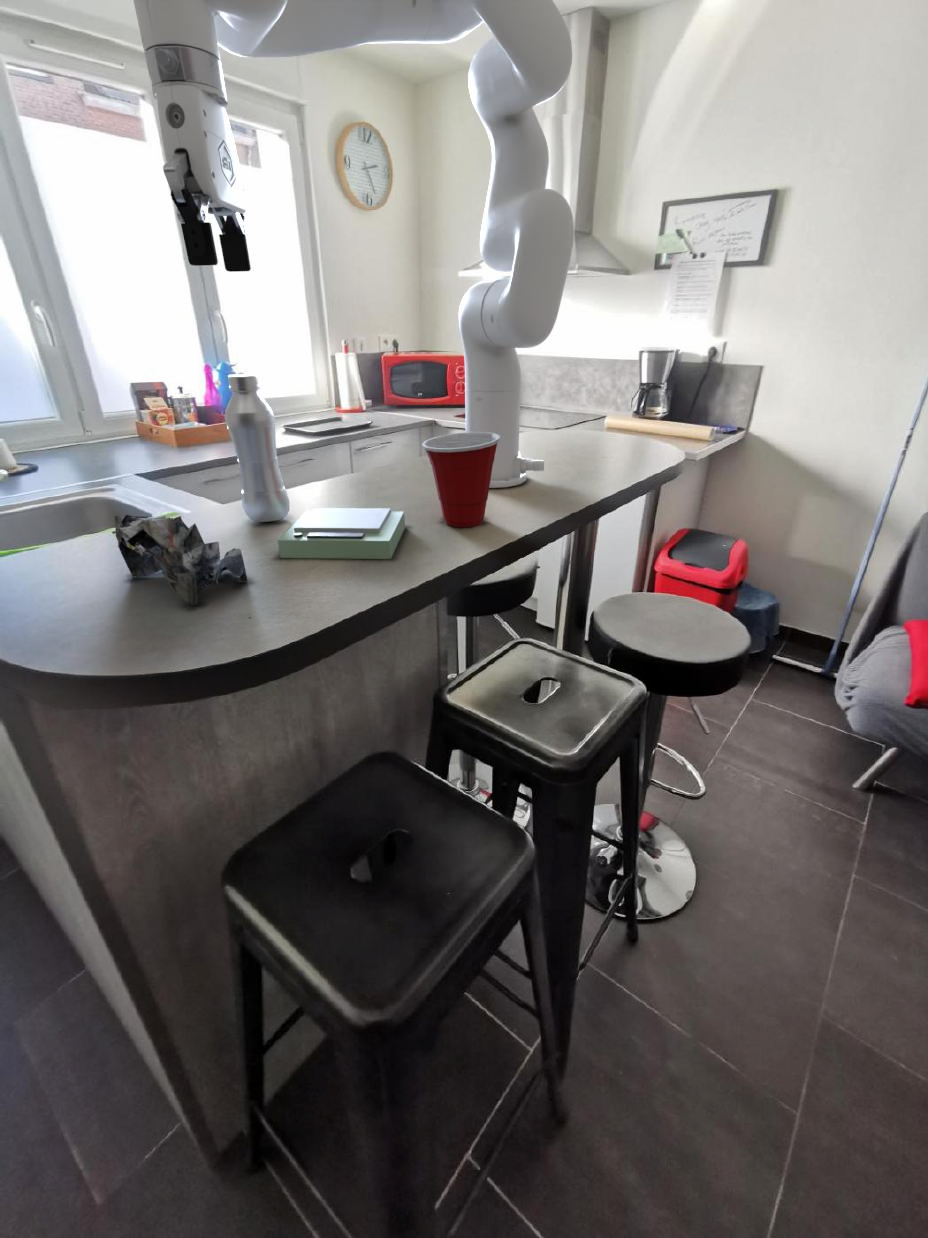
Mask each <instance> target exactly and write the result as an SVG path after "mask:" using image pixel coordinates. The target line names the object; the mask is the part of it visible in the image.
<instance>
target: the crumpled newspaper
mask: <svg viewBox="0 0 928 1238" xmlns="http://www.w3.org/2000/svg"><path fill="white" fill-rule="evenodd" d="M182 517H183V515H179V516H176V517H166V515H160V516H134V515H130V514H129V515H128V514H125V515H124V517H123V519H121V517H120V516H119V515H115V516H114V522H115V523H114V525H115V530H114V531H111V533H112V535H115V538H116V540H117V543H118V544H117V547H118V550H119V552H120V554H121V556H122V558H123V560H124V563H125V564H126V567H127V569H128V570H129V572H130V574H131V576H132V578H134V577H136V578H144V577H145V578H146V577H148V576H150V575H153V574H156V573H159V572H161V573H162V575H163V577H164V580H165V581H166V582H167V583H168V585H169V586H170V587H171V589H173V591H174V592H175V593H176V594H177V595H178V596H179V597H180V598H181V599H182V601H184V602H185V604H187V605H189V606H191V607H195V606H197V605H198V604H199V594H200V591H201V590H203V589H205V588H206V586H209V585H211V584H212V583H213V582H214V581H215V582H216V584H217V585H219V582H218V580H220V578H221V577H222V575H223V572H225V571H227V570H228V571H229V572H231V573H232V574H233V575H234V576H236V577H239V579H238V583H241V582H246V583H248V576H247V571H246V566H245V562H244V557H243V554H242V550H241V548H236V547H234V548H233V547H232V548H231V549H229V550H228V551H226V552H225V554H224V556H223V557H222V558H221V551H220V544H219V543H220V542H219V541H214V542H207V543H205V542H204V539H203V537H202V534H201V533H200V531H199V528H198V526H197V524H196V523H193V524H192V525H190V527H189V526H187V524H186V523H185V522H184V521H183V518H182ZM185 519H187V520H189V521H190V519H188V518H187V517H185Z"/></svg>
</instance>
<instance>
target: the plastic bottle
mask: <svg viewBox="0 0 928 1238" xmlns="http://www.w3.org/2000/svg"><path fill="white" fill-rule="evenodd" d="M227 378H228V385H229V386H228V388H229V391H231V392H232V395H231V397H230V399H229V401H228V403H227V406H226V408H225V410H224V421H225V425H226V427H227V430H228V431H227V432H228V434H229V437H230V439H231V442H232V445H233V448H234V453H235V456H236V459H237V463H238V467H239V475H240V485H241V489H242V490H241V504H242V509H243V510H244V513H245V515H246V517H248V518H249V520H251V521H252V522H260V523H264V522H265V523H267V522H269V523H270V522H275V521H279V520H283V519H284V518H286V517H288V514H289V513H290V498H289V495H288V492H287V489H286V486H284V481H283V477H282V473H281V470H280V465H279V458H278V451H277V443H276V442H277V441H276V424H275V423H276V419H275V413H274V411H273V410H272V407H271V406H270V405H269V404H268V402H267V401H266V400H265V399H264V398H263V397H262V395H261V394H260V393H259V390H260V389H261V387H260V384H259V379H258V374H256V373H237V374H236V373H235V374H229V375H227Z"/></svg>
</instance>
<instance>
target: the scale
mask: <svg viewBox="0 0 928 1238" xmlns="http://www.w3.org/2000/svg"><path fill="white" fill-rule="evenodd" d="M405 517H406V516H405V511H403V510H402V511H400V510H399V511H397V510H396V511H393V510H392V509H391V508H389V507H313V508H312V509H311V510H306V511H305V512H304V513H303V514H302V515H301V516H300V517H299V518H298V519H297V520H296V521H295V522H294V523H293V524H292V525H291V526H290V527H289V528H288V529H287V530H286V531H285V532H284V533H283V534H282V535H281V536H280V537H279V538H278V539H277V544H278V551H279V557H280V559H341V560H342V559H344V560H345V559H346V560H347V559H349V560H350V559H351V560H352V559H353V560H391V559H392V558H393V555H394V553H395V550H396V549H397V546H398V545H399V542H400V540H401V537H402V536H403V533H404V531H405V529H406V520H405Z"/></svg>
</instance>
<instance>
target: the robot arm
mask: <svg viewBox="0 0 928 1238" xmlns="http://www.w3.org/2000/svg"><path fill="white" fill-rule="evenodd" d="M133 4H134V5H133V6H134V10H135V15H136V18H137V24H138V29H139V34H140V39H141V43H142V49H143V53H144V57H145V58H144V59H145V64H146V67H147V73H148V77H149V83H150V87H151V93H152V96H153V98H154V100H155V101H156V104H157V111H158V120H159V126H160V127H159V128H160V132H161V138H162V139H161V140H162V146H163V151H164V156H165V163H164V165H162V170H163V174H164V176H165V179H166V182H167V183H168V187H169V189H170V197H171V200H172V201H173V203H174V206H175V207H176V217H177V219H178V222H179V223H180V227H181V232H182V235H183V236H182V237H183V242H184V246H185V251H186V255H187V261H188V264H189V265H190V266H195V267H196V266H197V267H200V266H203V267H204V266H217V265H218V263H219V259H218V254H217V249H216V245H215V244H216V243H215V239H214V234H213V228H212V223H211V222H209V221H208V222H207V217H208V214H210V215H213V216H214V218H215V220H216V222H217V224H218V227H219V230H220V232H221V233H219V234H218V236H219V242H220V247H221V254H222V258H223V259H222V260H223V264H224V269H225V271H227V272H231V273H233V272H235V273H237V272H250V271H251V268H252V267H251V261H250V255H249V248H248V243H247V238H246V236H247V235H246V231H247V230H246V227H245V225H244V223H245V222H244V221H245V215H244V214H245V213H246V211H247V209H248V203H247V197H246V191H245V186H244V181H243V176H242V171H241V167H240V166H241V165H240V161H239V156H238V151H237V148H236V143H235V139H234V135H233V131H232V126H231V123H230V120H229V116H228V112H227V110H226V107H227V106H228V97H227V90H226V85H225V79H224V73H223V72H224V71H223V67H222V60H221V55H220V48H219V47H221V48H222V49H223V50H225V51H227V52H228V53H230V54H232V55H235V56H238V57H244V58H292V57H293V58H294V57H300V56H308V55H314V54H318V53H324V52H331V51H335V50H336V51H337V50H345V49H350V48H354V47H357V46H361V45H365V44H446V43H452V42H456V41H458V40H460V39H462V38H464V37H465V36H467V35H468V34H469V33H471V32H472V31H474V30H475V29H477V28H478V27H479V26H481V25H482V24H485V26H486V28H488V30H489V31H490V33H491V35H492V36H493V37H492V38H491V39H489V40H488V41H487V42H486V41H485V43H484V44H482V46H481V47H479V49H478V50H477V52H475V54H474V56H473V58H472V59H471V62H470V66H469V70H468V78H467V79H468V80H467V81H468V91H469V96H470V99H471V102H472V105H473V108H474V109H475V111H476V113H477V115H478V117H479V119H480V120H481V122H482V125H483V126H484V129H485V131H486V134H487V137H488V139H489V142H490V147H491V169H490V177H489V183H488V189H487V195H486V200H485V207H484V211H483V217H482V222H481V229H480V237H479V251H480V255H481V258H482V260H483V262H484V263H485V264H486V265H487V267H489V268H490V269H492V270H494V271H497V272H503V273H504V272H505V273H507V272H508V273H509V272H511V275H510V277H503V278H492V279H485V280H482V281H480V282H477V283H475V284H474V285H472V286H471V287H469V289H468V290H467V291H466V292H465V294H464V295H463V297H462V299H461V301H460V305H459V308H458V329H459V333H460V338H461V345H462V351H463V358H464V359H463V362H464V409H465V410H464V412H465V413H464V415H465V417H464V420H465V423H464V424H465V425H464V426H465V429H464V431H465V433H466V432H489V433H495V434H498V435H500V439H499V442H498V443H497V447H496V452H495V457H494V462H493V467H492V474H491V480H490V487H489V489H500V488H509V487H511V488H512V487H515V486H519V485H522V484H523V483H525V482H526V481H527V471H528V472H529V471H530V472H531V471H533V472H544V471H545V460H544V459H543V460H542V459H537V458H524V457H522V456H521V451H519V450H520V449H519V448H520V421H521V420H520V419H521V392H522V391H521V389H522V369H521V364H520V359H519V355H518V352H517V349H530V348H535V347H537V346H539V345H541V344H543V342H544V341H546V340H547V339H548V338H549V336H550V334H551V333H552V331H553V329H554V326H555V324H556V321H557V318H558V315H559V311H560V308H561V303H562V298H563V294H564V290H565V285H566V281H567V277H568V272H569V267H570V263H571V259H572V253H573V248H574V242H575V220H574V215H573V212H572V208H571V206H570V204H569V202H568V200H567V199H566V198H565V197H564V195H563V194H561V193H560V192H559V191H557V190H554V189H551V188H546V187H547V180H548V174H549V165H550V153H549V146H548V145H549V144H548V142H547V138H546V135H545V133H544V130H543V128H542V126H541V124H540V121H539V119H538V117H537V114H536V113H535V110H534V109H533V108H534V107H536V106H538V105H540V104H543V103H545V102H548V101H550V100H551V99H552V98H554V97H555V96H556V95H558V94H559V92H560V91H561V90H562V89H563V88H564V86H565V85H566V83H567V81H568V79H569V77H570V73H571V69H572V64H573V45H572V40H571V35H570V32H569V29H568V26H567V23H566V21H565V19H564V18H563V15H562V14H561V11H560V10H559V8H558V7H557V5H556V3H555V1H553V0H133ZM225 217H226V218H225Z"/></svg>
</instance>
